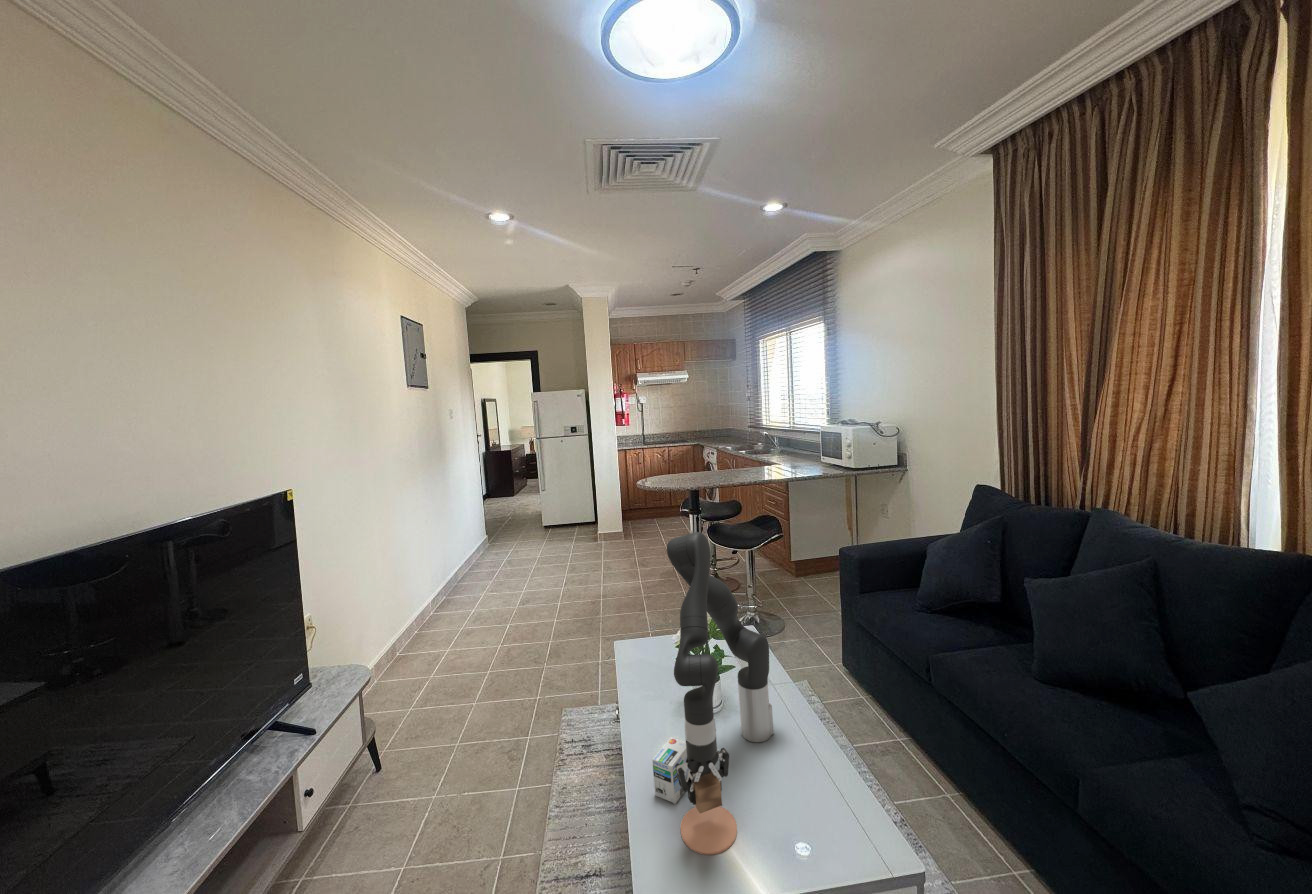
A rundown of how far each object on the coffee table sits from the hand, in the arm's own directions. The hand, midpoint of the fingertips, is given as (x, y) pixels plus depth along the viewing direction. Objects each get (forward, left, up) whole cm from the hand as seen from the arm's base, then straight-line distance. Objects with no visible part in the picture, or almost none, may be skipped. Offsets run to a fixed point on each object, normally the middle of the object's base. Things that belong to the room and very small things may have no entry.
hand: (705, 797), depth 128 cm
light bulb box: (+2, -17, -9) cm, 19 cm away
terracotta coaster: (0, 0, -9) cm, 9 cm away
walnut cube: (0, 0, -1) cm, 1 cm away
